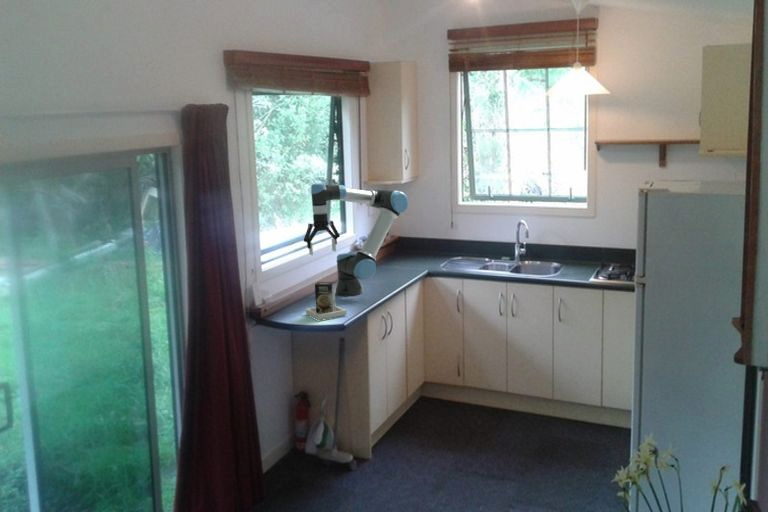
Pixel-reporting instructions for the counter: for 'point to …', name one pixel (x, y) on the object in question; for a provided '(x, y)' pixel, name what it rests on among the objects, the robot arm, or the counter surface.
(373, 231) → the robot arm
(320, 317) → the tray
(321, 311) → the coffee box
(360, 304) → the counter surface
